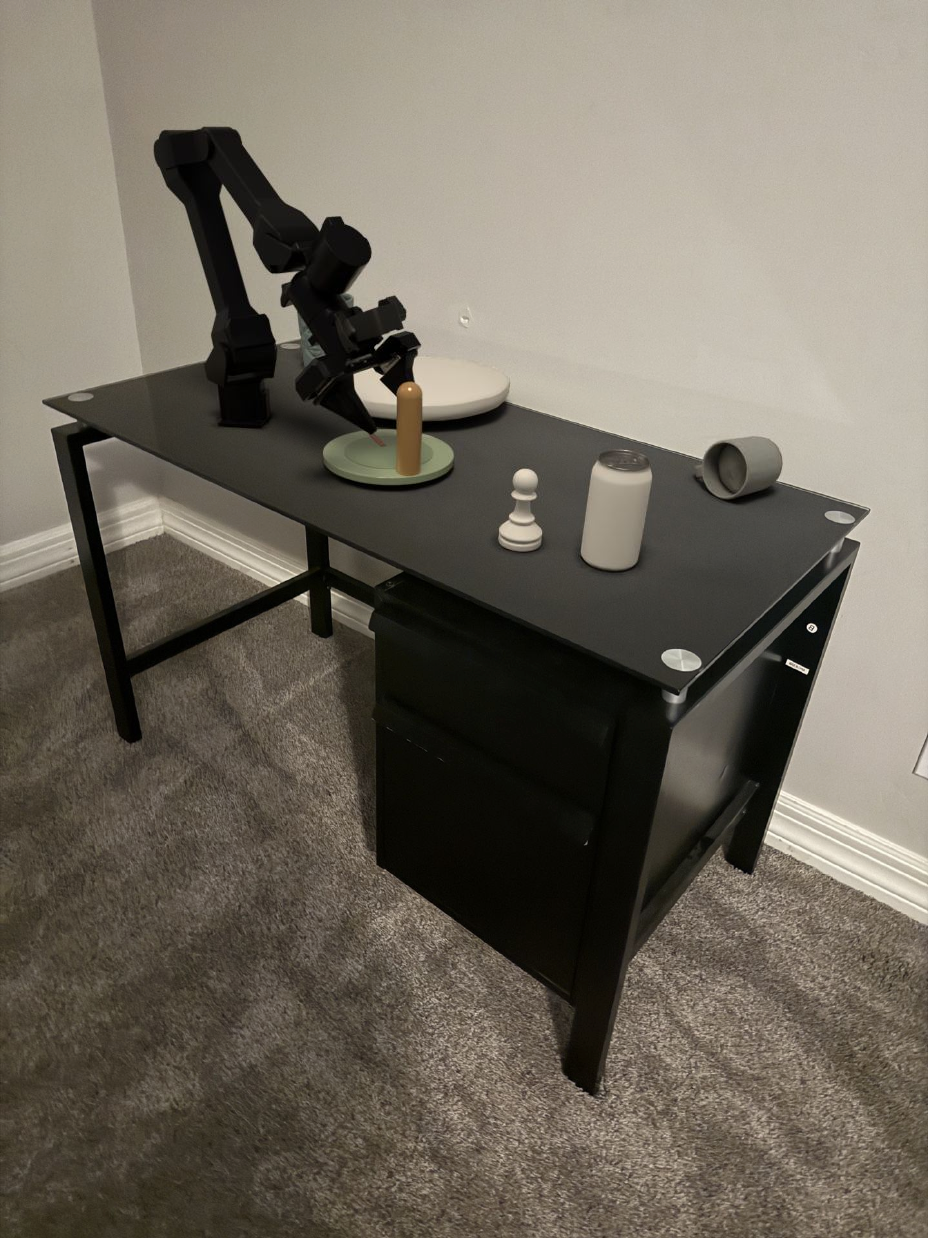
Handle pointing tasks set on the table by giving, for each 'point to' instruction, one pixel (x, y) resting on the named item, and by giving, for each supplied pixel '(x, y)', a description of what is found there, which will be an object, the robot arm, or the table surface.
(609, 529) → the can
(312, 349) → the teal embossed cup
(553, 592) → the table surface
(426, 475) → the green disc with post
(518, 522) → the chess pawn
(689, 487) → the table surface
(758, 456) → the ceramic mug
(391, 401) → the white round disc
